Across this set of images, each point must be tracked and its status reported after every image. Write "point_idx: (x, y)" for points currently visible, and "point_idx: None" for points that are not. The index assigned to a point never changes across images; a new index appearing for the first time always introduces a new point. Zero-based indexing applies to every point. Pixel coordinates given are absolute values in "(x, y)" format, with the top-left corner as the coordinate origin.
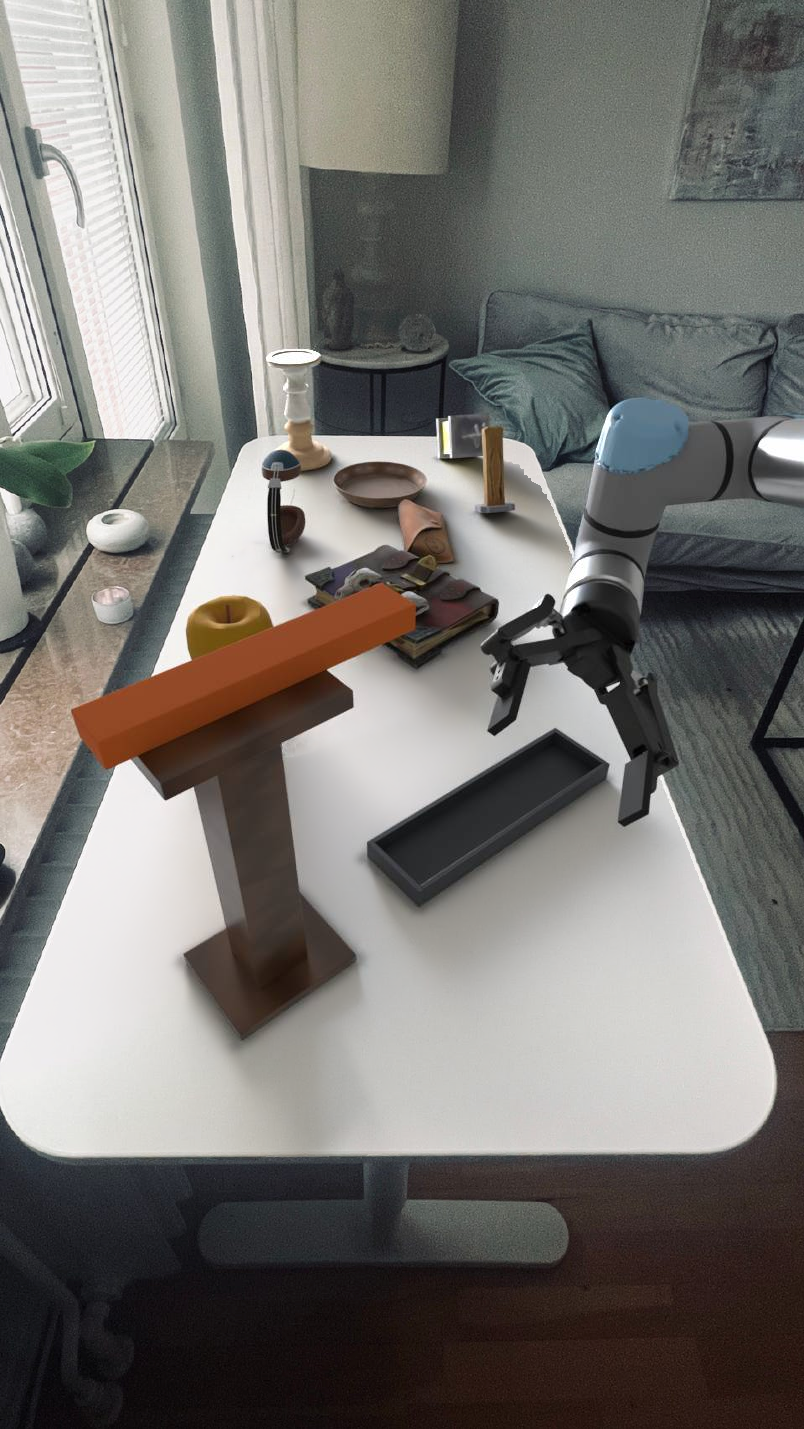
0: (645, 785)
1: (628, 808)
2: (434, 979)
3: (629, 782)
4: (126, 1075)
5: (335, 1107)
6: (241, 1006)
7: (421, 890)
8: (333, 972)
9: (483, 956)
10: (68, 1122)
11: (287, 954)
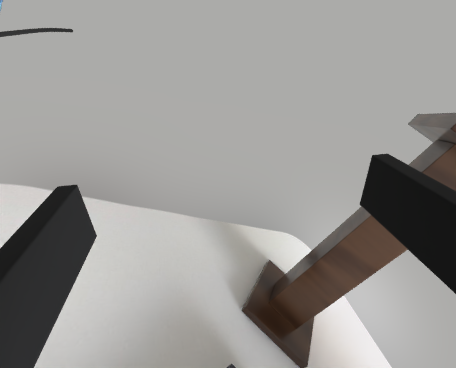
0: (41, 224)
1: (80, 230)
2: (191, 299)
3: (49, 295)
4: (290, 252)
5: (218, 233)
6: (277, 273)
7: (231, 366)
8: (250, 295)
9: (158, 322)
10: (292, 240)
11: (281, 285)
